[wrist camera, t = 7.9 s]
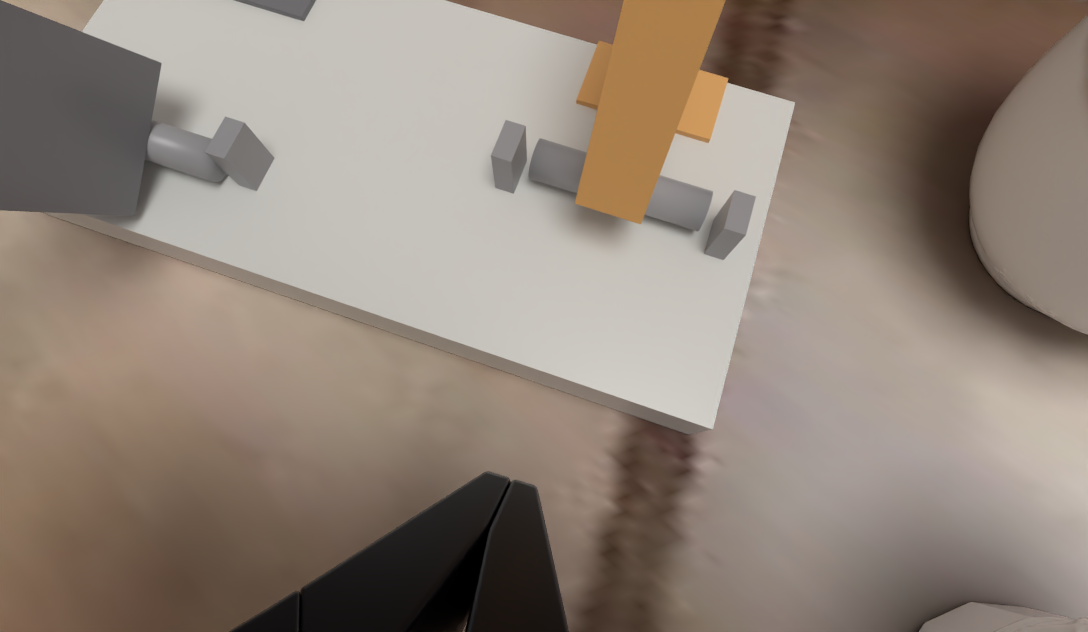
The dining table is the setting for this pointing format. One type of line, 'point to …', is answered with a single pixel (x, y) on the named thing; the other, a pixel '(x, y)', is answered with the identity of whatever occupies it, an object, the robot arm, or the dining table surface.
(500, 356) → the switch console
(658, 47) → the orange rocker
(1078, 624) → the white cup
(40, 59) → the charcoal rocker
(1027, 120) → the lidded jar
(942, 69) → the dining table surface
